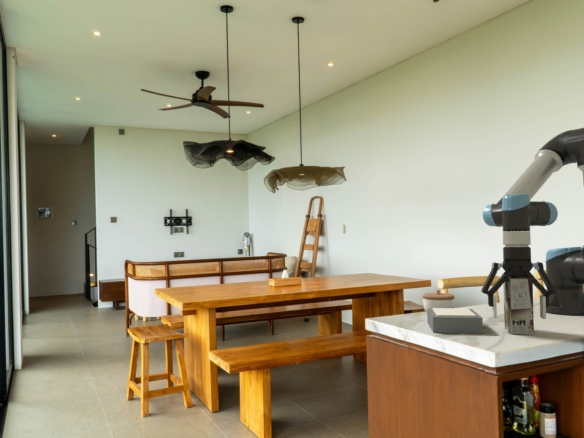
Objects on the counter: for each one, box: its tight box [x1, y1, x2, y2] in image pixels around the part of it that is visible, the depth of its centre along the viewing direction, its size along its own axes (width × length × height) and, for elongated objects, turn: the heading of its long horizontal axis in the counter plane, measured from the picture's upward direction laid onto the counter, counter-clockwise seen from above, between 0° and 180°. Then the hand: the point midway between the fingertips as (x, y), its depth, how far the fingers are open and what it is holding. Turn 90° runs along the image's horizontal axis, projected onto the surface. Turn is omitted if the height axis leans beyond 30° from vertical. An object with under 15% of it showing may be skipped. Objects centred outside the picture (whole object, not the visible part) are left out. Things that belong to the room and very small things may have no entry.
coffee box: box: [502, 277, 535, 336], centre depth 146 cm, size 9×6×16 cm
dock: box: [426, 307, 484, 335], centre depth 152 cm, size 14×16×5 cm
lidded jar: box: [422, 289, 456, 314], centre depth 172 cm, size 11×11×9 cm
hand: (518, 318), depth 146 cm, fingers open, 13 cm apart
